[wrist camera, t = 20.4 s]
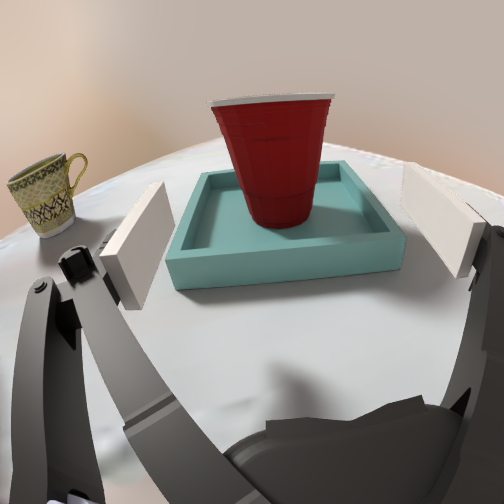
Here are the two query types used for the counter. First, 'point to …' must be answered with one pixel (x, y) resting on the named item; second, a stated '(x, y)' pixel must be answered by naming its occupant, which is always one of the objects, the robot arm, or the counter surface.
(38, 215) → the ceramic cup
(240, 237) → the tray
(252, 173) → the plastic cup
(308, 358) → the counter surface
